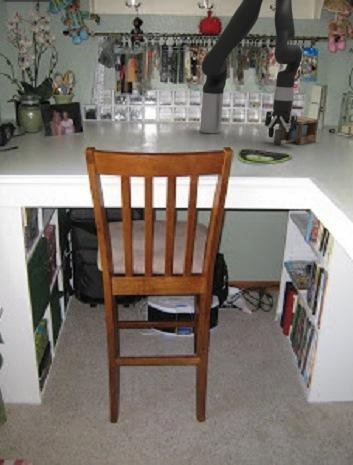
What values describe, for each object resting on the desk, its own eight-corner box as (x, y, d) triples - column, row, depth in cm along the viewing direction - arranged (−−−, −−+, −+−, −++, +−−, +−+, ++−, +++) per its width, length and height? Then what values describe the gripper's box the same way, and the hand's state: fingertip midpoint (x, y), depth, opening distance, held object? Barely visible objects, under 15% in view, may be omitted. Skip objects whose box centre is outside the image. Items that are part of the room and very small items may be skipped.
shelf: (293, 136, 210) (296, 115, 207) (315, 141, 203) (318, 119, 199) (277, 139, 203) (279, 117, 200) (298, 144, 196) (301, 121, 192)
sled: (295, 138, 207) (298, 122, 204) (305, 141, 203) (307, 124, 200) (270, 143, 196) (272, 126, 193) (279, 145, 193) (281, 128, 190)
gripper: (303, 100, 186) (298, 140, 192) (275, 95, 195) (271, 134, 202) (292, 101, 181) (287, 143, 187) (263, 97, 191) (259, 136, 197)
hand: (278, 138), depth 195 cm, fingers open, 8 cm apart
